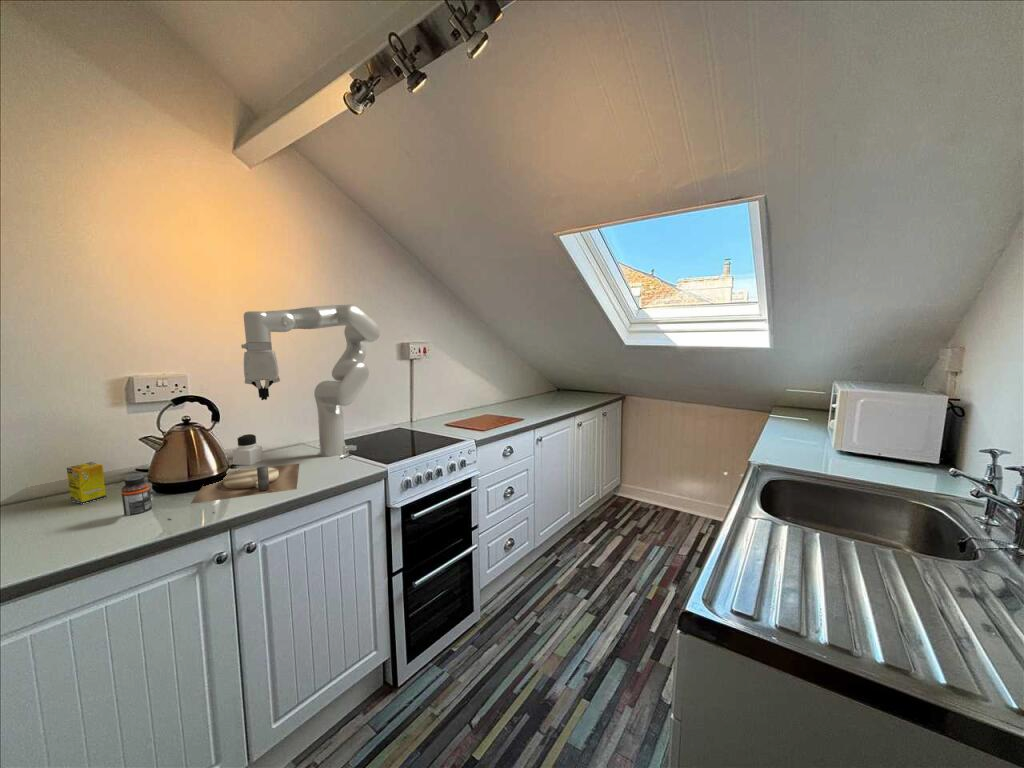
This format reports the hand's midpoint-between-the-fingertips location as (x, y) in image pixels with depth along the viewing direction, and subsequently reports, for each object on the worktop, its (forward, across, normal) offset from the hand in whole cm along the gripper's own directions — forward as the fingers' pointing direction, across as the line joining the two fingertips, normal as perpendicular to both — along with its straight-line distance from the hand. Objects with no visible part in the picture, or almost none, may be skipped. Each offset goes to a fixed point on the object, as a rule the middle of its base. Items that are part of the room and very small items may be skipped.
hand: (264, 399), depth 148 cm
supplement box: (+27, -49, -2) cm, 56 cm away
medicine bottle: (+28, -8, +15) cm, 33 cm away
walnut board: (+28, -5, -9) cm, 30 cm away
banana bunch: (+26, -4, -11) cm, 28 cm away
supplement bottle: (+27, -32, -22) cm, 47 cm away
